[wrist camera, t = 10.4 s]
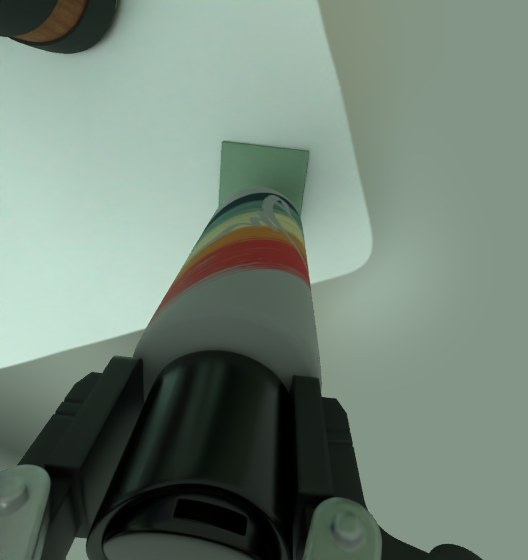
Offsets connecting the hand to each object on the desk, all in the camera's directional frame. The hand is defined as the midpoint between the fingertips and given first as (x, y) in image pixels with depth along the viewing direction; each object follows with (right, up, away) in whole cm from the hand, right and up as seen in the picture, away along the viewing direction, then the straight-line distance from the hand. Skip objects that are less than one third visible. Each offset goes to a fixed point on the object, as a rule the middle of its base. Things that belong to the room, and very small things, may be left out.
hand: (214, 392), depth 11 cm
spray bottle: (+1, +7, +14) cm, 15 cm away
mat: (+1, +10, +22) cm, 24 cm away
